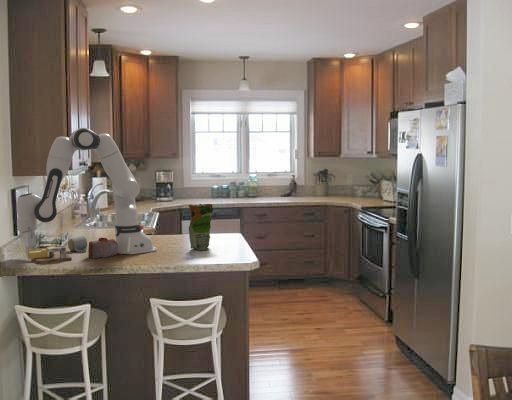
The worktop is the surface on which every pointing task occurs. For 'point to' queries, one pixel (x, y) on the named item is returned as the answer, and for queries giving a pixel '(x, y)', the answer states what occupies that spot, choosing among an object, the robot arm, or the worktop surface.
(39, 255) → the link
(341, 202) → the worktop surface
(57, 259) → the base
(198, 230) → the pouch
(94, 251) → the small brown suitcase
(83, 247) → the ceramic mug
